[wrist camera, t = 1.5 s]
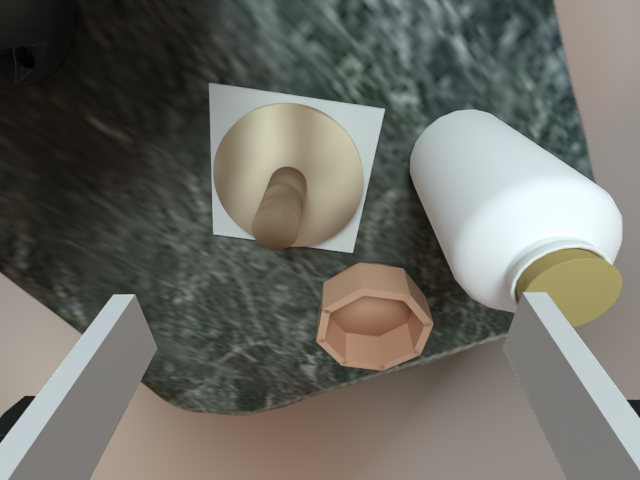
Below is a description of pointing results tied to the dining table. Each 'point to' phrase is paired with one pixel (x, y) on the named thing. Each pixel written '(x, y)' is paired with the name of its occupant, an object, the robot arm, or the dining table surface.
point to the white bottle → (516, 217)
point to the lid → (288, 175)
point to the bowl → (373, 317)
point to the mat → (353, 118)
